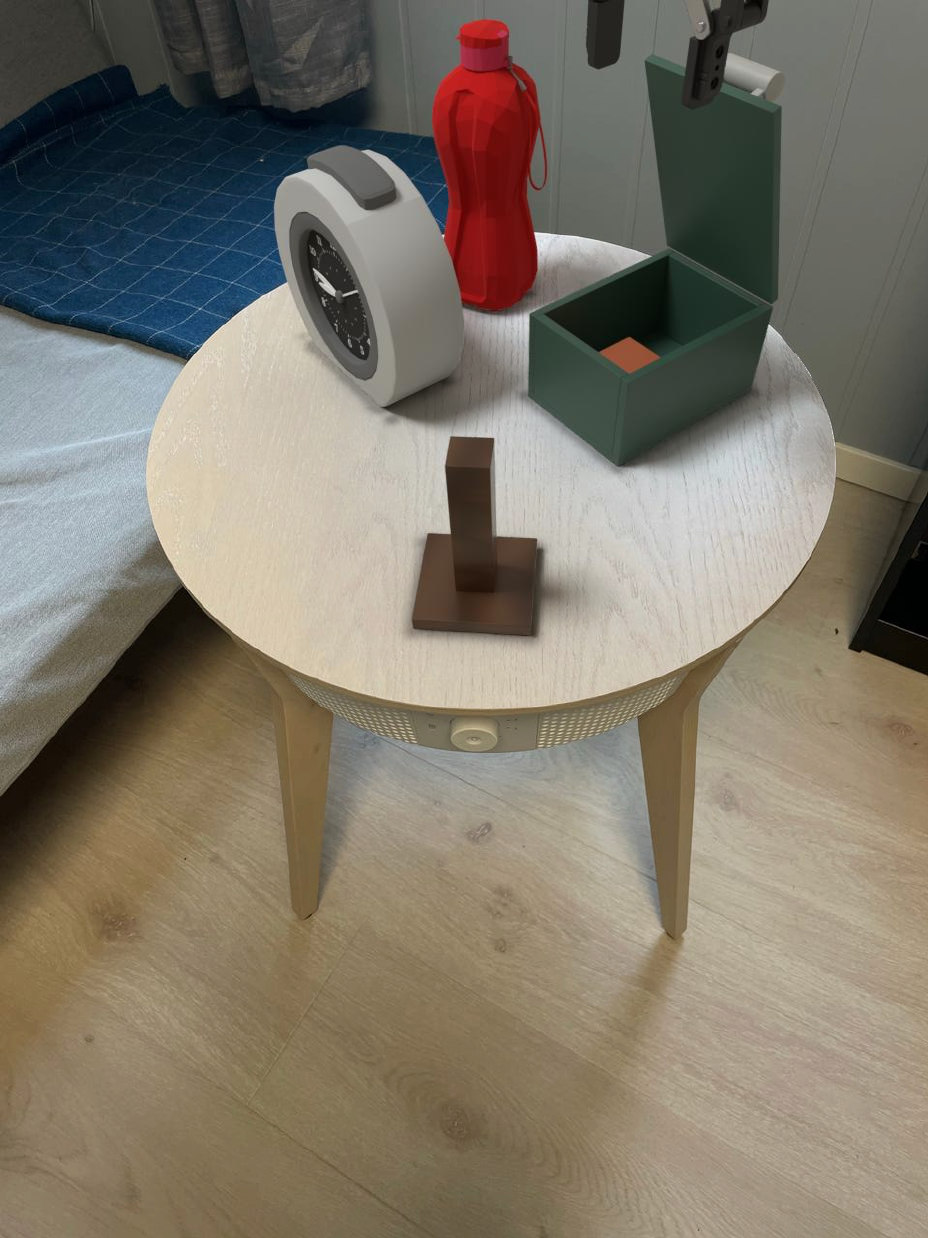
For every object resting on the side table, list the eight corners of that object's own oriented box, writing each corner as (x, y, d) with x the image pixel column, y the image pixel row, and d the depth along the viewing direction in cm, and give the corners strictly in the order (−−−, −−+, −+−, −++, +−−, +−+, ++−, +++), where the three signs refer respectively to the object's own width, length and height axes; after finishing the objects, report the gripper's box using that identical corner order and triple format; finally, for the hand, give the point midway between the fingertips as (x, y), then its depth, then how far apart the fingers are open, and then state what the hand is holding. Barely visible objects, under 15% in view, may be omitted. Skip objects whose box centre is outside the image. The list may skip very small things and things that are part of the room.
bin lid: (773, 112, 58) (830, 65, 58) (643, 59, 65) (695, 16, 65) (771, 304, 73) (816, 266, 74) (666, 245, 80) (708, 210, 80)
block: (655, 395, 80) (661, 357, 76) (621, 413, 78) (626, 375, 75) (624, 374, 82) (629, 336, 78) (591, 391, 80) (594, 353, 77)
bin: (617, 466, 75) (628, 383, 68) (527, 395, 82) (529, 312, 75) (751, 391, 81) (773, 306, 74) (656, 330, 87) (669, 247, 80)
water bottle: (522, 326, 89) (525, 54, 69) (432, 300, 93) (410, 35, 73) (561, 282, 94) (573, 15, 74) (474, 259, 97) (464, -1, 77)
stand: (537, 547, 70) (541, 410, 59) (530, 635, 64) (533, 502, 53) (428, 542, 71) (412, 405, 60) (412, 628, 65) (392, 496, 54)
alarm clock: (295, 327, 91) (249, 128, 75) (355, 301, 93) (323, 104, 77) (404, 429, 80) (377, 221, 64) (469, 397, 82) (458, 190, 66)
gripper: (863, -292, 38) (776, 102, 51) (645, -310, 46) (616, 38, 59) (746, -268, 36) (685, 139, 49) (535, -291, 43) (530, 67, 56)
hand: (648, 83), depth 54 cm, fingers open, 8 cm apart
